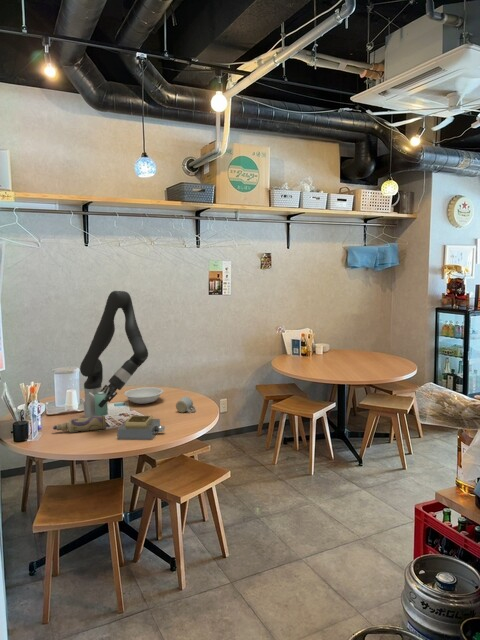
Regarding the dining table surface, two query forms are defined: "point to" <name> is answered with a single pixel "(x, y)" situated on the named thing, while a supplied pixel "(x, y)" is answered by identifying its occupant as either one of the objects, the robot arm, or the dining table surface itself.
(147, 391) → the soup bowl
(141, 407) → the dining table surface
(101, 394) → the oil can
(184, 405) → the ceramic mug
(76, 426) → the decorative bottle
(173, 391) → the dining table surface
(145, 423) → the grey metal block
